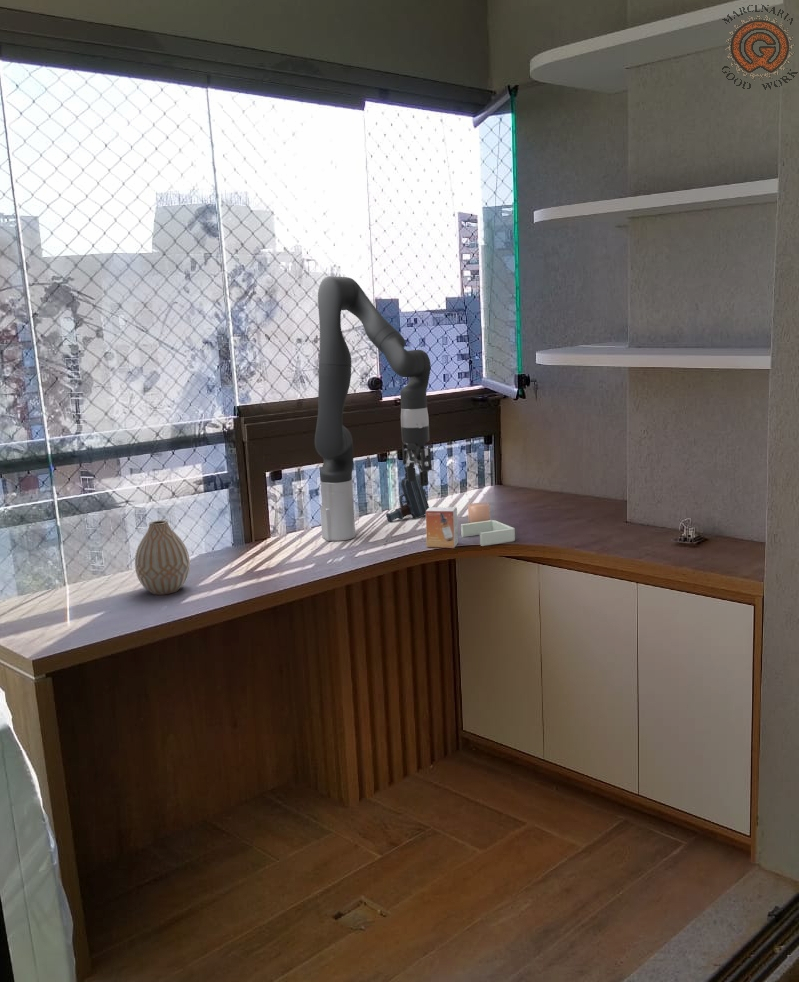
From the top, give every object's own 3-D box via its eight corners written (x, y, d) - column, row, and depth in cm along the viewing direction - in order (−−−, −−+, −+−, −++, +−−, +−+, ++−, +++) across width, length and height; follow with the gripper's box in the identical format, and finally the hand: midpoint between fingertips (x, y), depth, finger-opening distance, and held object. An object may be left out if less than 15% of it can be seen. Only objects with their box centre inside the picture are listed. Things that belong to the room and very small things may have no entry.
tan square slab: (474, 531, 280) (473, 508, 279) (465, 527, 286) (464, 504, 285) (494, 528, 282) (493, 505, 281) (484, 524, 288) (483, 501, 287)
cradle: (482, 545, 263) (481, 533, 262) (461, 536, 275) (460, 524, 275) (516, 540, 267) (515, 528, 266) (493, 531, 279) (493, 519, 278)
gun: (374, 479, 295) (413, 461, 301) (389, 528, 300) (427, 509, 306) (378, 480, 293) (418, 462, 299) (393, 529, 298) (432, 510, 304)
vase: (128, 592, 235) (120, 523, 232) (174, 580, 244) (167, 513, 241) (155, 602, 226) (148, 530, 223) (202, 589, 235) (196, 520, 231)
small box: (426, 547, 264) (424, 510, 262) (430, 542, 270) (428, 506, 268) (454, 548, 262) (453, 510, 260) (458, 543, 268) (457, 506, 266)
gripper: (392, 423, 263) (395, 481, 266) (412, 428, 250) (415, 489, 253) (417, 421, 265) (419, 478, 268) (438, 425, 252) (441, 485, 255)
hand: (417, 483), depth 261 cm, fingers open, 8 cm apart
